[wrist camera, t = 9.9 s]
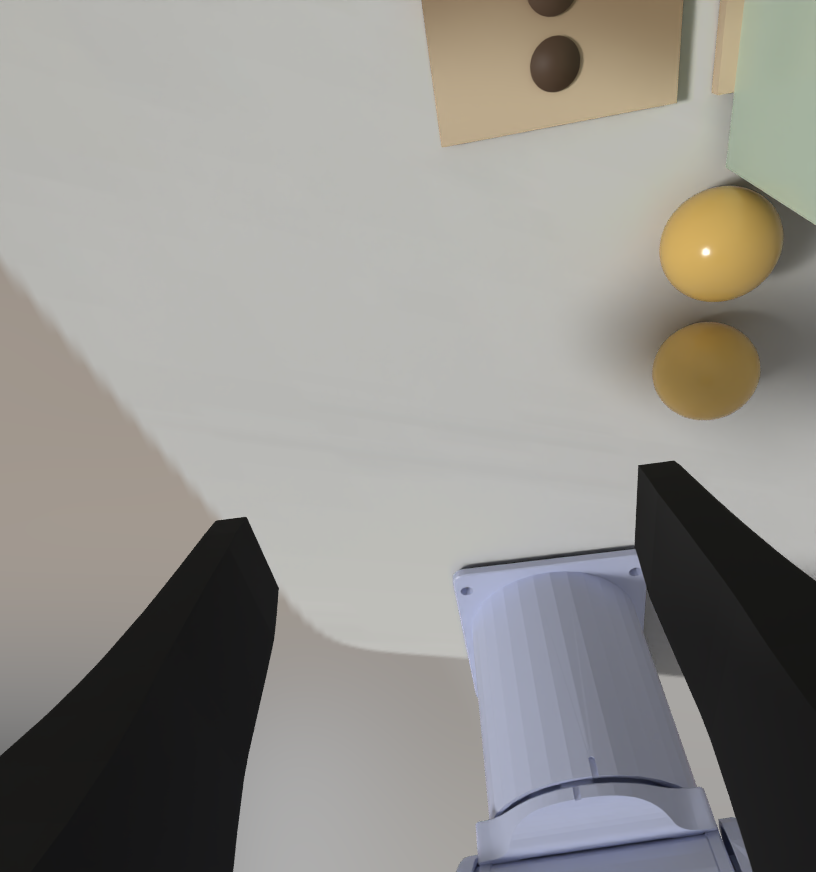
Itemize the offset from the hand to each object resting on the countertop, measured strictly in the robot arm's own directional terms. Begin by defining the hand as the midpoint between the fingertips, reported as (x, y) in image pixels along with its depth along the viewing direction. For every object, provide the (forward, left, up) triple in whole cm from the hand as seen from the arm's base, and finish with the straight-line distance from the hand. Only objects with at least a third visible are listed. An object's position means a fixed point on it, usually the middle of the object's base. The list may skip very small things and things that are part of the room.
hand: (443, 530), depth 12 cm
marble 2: (-3, -8, -10) cm, 13 cm away
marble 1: (+1, -8, -10) cm, 13 cm away
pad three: (+8, -4, -10) cm, 13 cm away
